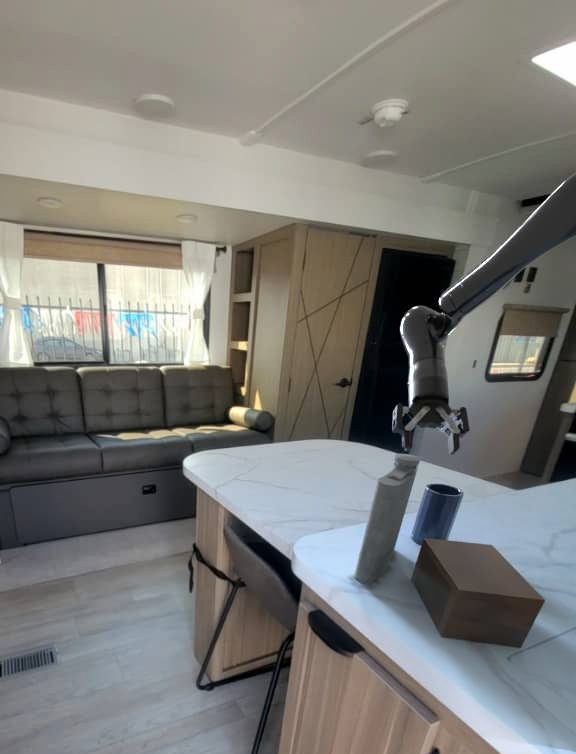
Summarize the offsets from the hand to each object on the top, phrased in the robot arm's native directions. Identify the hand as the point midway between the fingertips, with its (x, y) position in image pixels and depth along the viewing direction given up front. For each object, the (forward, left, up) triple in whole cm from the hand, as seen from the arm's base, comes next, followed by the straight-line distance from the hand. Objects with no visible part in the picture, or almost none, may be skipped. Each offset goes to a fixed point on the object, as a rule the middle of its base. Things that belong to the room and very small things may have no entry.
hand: (430, 451), depth 84 cm
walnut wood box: (+3, +33, -15) cm, 36 cm away
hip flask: (+12, +22, -15) cm, 29 cm away
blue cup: (0, +11, -15) cm, 19 cm away
